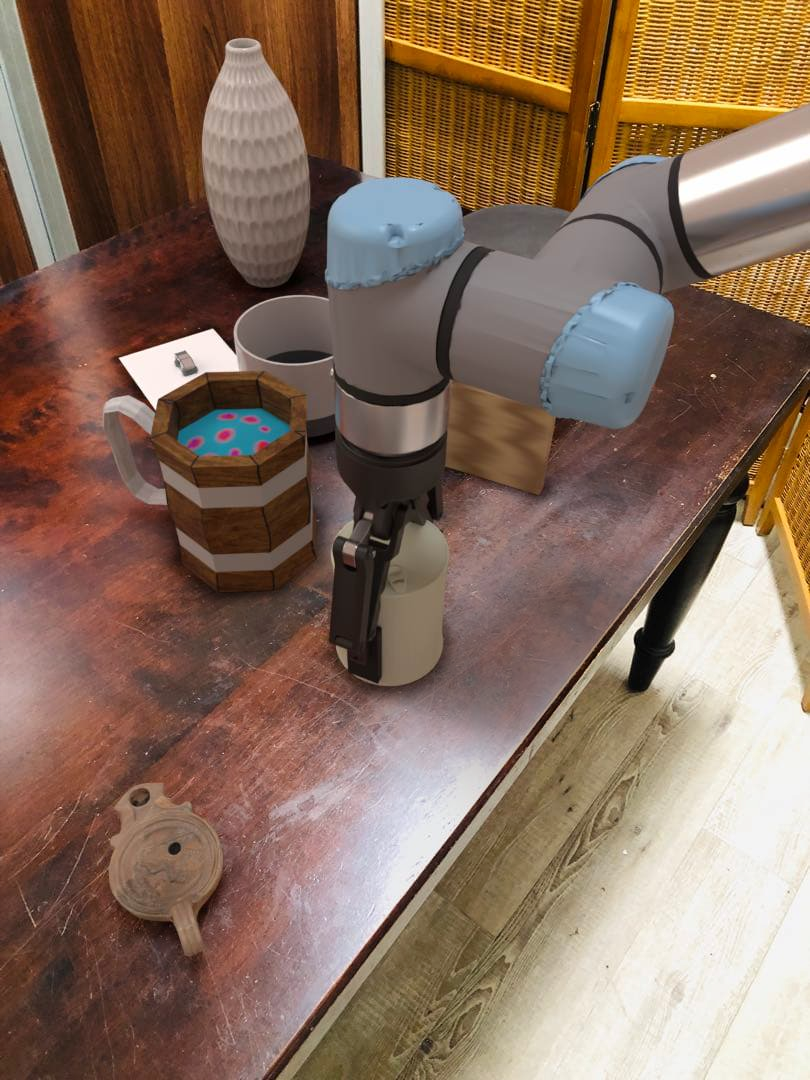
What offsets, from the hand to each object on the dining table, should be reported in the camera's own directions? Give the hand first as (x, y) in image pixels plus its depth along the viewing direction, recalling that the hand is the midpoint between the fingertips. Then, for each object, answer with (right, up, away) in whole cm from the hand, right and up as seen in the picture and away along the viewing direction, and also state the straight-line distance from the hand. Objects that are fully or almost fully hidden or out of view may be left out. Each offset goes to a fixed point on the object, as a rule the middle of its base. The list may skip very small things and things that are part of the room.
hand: (389, 632), depth 75 cm
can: (0, -1, +1) cm, 2 cm away
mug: (-16, +8, +10) cm, 21 cm away
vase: (-17, +43, +42) cm, 63 cm away
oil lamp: (-15, -16, -13) cm, 26 cm away
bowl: (+16, +39, +40) cm, 59 cm away
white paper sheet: (-24, +28, +28) cm, 46 cm away
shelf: (+11, +21, +22) cm, 32 cm away
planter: (-10, +22, +23) cm, 33 cm away
